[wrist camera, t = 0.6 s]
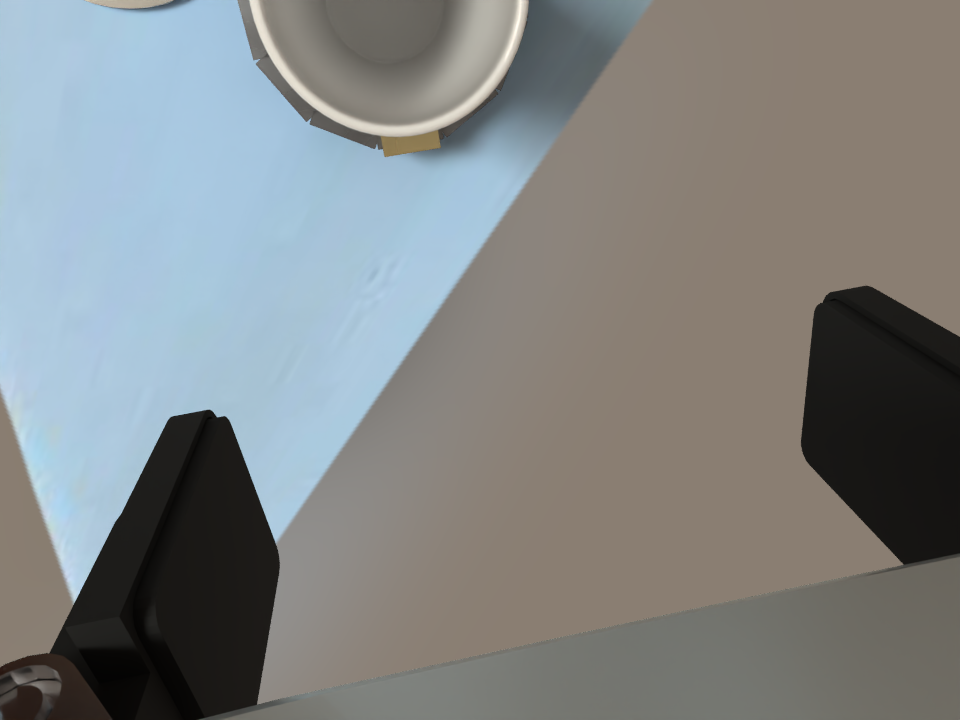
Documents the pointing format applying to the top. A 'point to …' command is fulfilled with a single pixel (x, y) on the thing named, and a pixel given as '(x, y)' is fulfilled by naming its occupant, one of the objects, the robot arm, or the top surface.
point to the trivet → (130, 3)
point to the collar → (319, 120)
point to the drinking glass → (392, 57)
